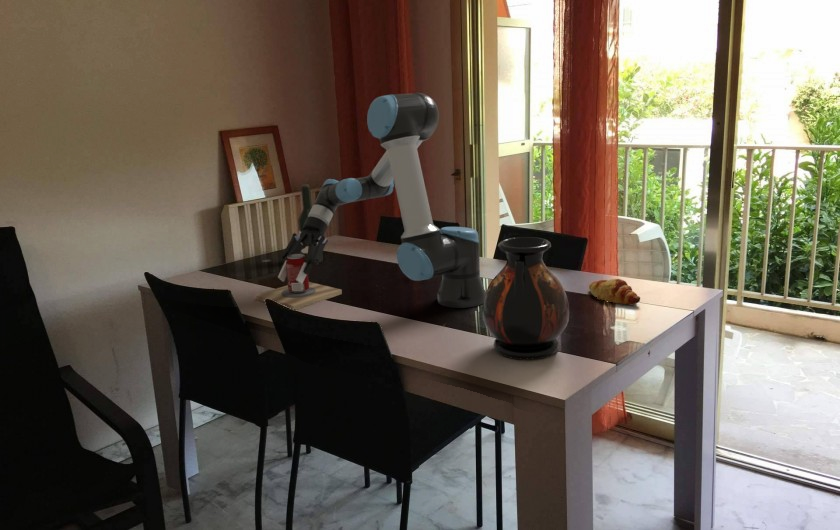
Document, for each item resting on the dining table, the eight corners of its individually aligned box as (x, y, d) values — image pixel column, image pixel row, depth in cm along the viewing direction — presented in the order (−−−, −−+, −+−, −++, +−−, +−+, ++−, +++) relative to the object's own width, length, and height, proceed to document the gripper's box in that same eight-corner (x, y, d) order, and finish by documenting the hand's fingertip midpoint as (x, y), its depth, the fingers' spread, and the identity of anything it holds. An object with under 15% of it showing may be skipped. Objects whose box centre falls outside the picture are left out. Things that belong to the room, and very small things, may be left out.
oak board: (341, 293, 241) (341, 288, 240) (293, 310, 227) (293, 304, 226) (303, 284, 254) (303, 279, 254) (255, 299, 240) (255, 294, 239)
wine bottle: (321, 263, 281) (314, 186, 274) (300, 264, 282) (292, 187, 274) (324, 257, 289) (317, 182, 282) (303, 258, 290) (296, 183, 282)
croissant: (582, 303, 230) (573, 283, 226) (604, 283, 233) (595, 264, 229) (632, 319, 212) (623, 298, 208) (654, 298, 215) (645, 277, 211)
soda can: (305, 294, 236) (302, 258, 233) (285, 294, 238) (282, 258, 234) (312, 288, 243) (309, 253, 239) (293, 288, 244) (290, 253, 241)
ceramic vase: (492, 332, 199) (489, 231, 191) (573, 336, 192) (573, 232, 185) (475, 363, 179) (471, 252, 172) (564, 368, 173) (564, 254, 165)
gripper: (346, 229, 242) (319, 289, 233) (301, 225, 253) (273, 283, 244) (335, 217, 237) (307, 278, 228) (289, 213, 247) (260, 271, 238)
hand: (289, 280), depth 236 cm, fingers open, 7 cm apart
